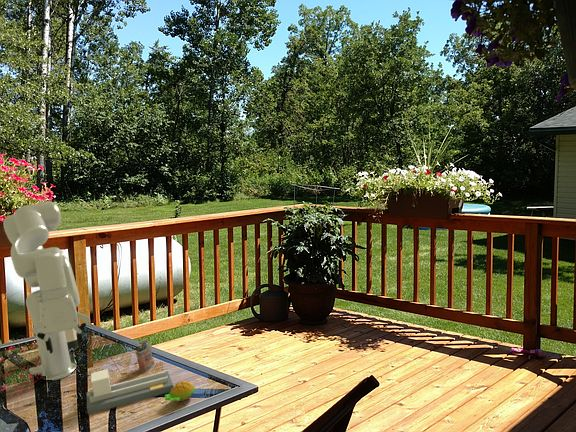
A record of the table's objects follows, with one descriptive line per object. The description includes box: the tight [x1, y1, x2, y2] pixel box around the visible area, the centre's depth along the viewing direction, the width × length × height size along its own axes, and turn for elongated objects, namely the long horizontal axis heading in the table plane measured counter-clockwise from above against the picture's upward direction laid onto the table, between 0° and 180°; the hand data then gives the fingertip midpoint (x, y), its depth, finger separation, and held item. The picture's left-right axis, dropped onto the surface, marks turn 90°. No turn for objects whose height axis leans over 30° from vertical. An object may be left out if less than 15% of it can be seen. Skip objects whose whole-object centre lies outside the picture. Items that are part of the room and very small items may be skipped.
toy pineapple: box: [164, 380, 196, 403], centre depth 166 cm, size 7×10×5 cm
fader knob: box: [90, 368, 111, 397], centre depth 172 cm, size 5×7×6 cm
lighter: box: [135, 337, 155, 374], centre depth 193 cm, size 8×3×10 cm, turn 168°
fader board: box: [86, 370, 174, 415], centre depth 175 cm, size 26×12×4 cm, turn 110°
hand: (65, 348), depth 167 cm, fingers open, 7 cm apart
